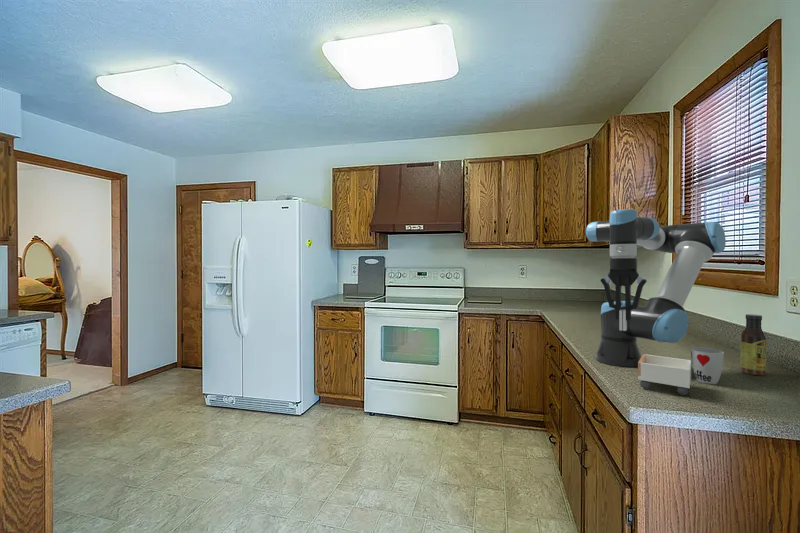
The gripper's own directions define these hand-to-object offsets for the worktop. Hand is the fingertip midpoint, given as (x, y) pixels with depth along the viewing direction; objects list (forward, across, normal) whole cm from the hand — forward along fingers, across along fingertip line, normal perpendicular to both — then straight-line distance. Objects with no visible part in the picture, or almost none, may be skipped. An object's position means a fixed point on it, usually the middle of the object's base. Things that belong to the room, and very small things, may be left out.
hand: (623, 329), depth 119 cm
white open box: (+16, +11, 0) cm, 20 cm away
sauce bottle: (+17, +33, +33) cm, 50 cm away
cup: (+17, +21, +14) cm, 30 cm away
